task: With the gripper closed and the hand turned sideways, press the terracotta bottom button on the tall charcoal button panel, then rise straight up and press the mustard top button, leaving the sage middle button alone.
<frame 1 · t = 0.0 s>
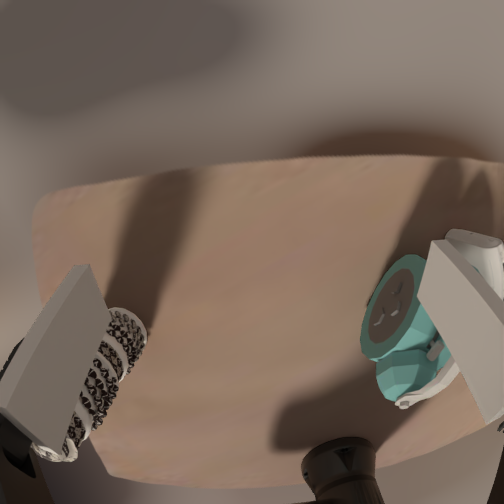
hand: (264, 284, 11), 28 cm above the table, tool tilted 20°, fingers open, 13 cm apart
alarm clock: (390, 296, 40), on the table
leaning tower model: (122, 331, 42), on the table
photo printer: (454, 258, 39), on the table
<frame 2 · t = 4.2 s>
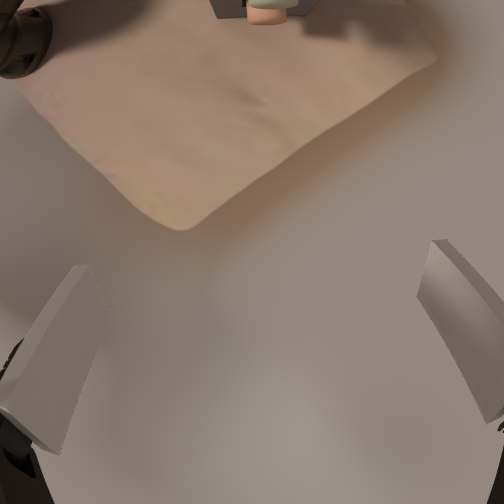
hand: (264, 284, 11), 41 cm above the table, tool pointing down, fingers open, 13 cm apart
terracotta button: (266, 8, 29), point 9 cm above the table, slide at 0.0 cm
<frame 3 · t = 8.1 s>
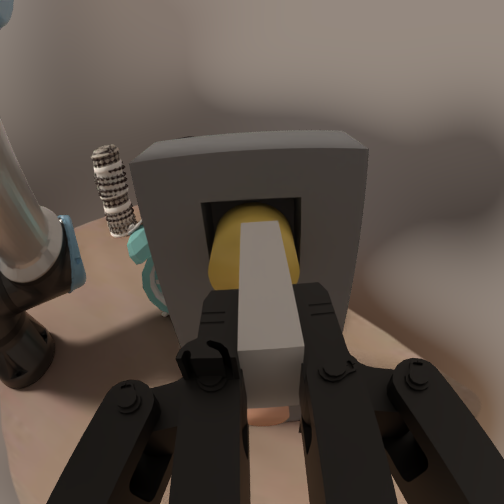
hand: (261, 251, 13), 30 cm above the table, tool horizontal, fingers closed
mustard button: (253, 254, 18), point 27 cm above the table, slide at 0.0 cm
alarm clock: (193, 303, 55), on the table
leaning tower model: (124, 230, 81), on the table
button panel: (264, 400, 37), on the table
terracotta button: (263, 400, 28), point 9 cm above the table, slide at 0.0 cm
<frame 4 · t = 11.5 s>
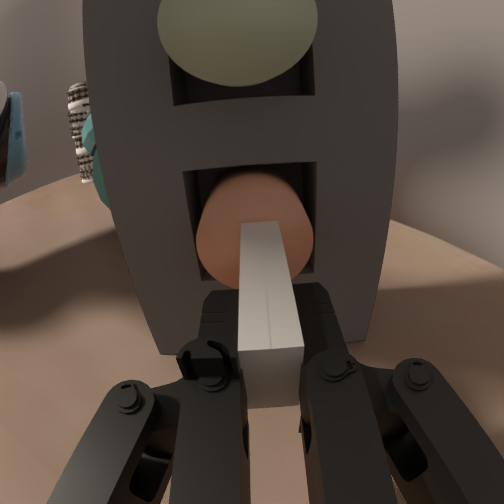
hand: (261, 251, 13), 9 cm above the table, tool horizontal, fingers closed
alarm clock: (161, 217, 40), on the table
leaning tower model: (97, 177, 67), on the table
sage button: (238, 26, 9), point 18 cm above the table, slide at 0.0 cm
button panel: (260, 315, 22), on the table
terracotta button: (253, 224, 14), point 9 cm above the table, slide at 1.5 cm, touching gripper
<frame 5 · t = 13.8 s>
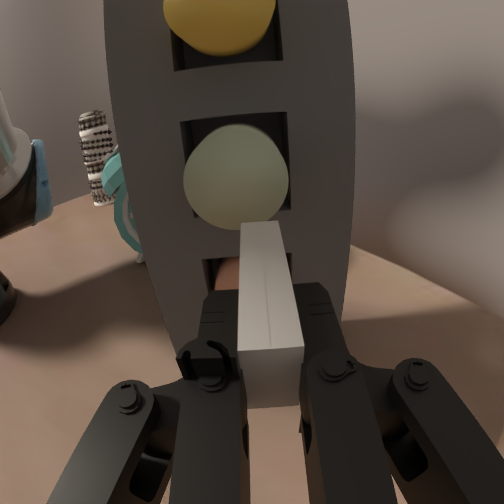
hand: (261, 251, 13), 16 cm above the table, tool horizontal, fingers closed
mustard button: (221, 10, 11), point 27 cm above the table, slide at 0.0 cm
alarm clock: (173, 250, 47), on the table
leaning tower model: (108, 200, 74), on the table
sage button: (236, 171, 16), point 18 cm above the table, slide at 0.0 cm
button panel: (256, 341, 29), on the table
terracotta button: (249, 281, 22), point 9 cm above the table, slide at 2.6 cm
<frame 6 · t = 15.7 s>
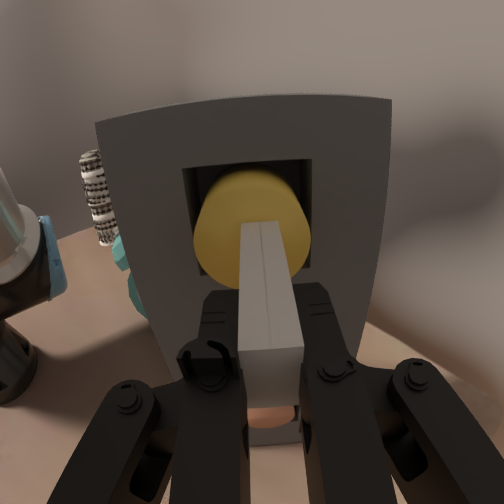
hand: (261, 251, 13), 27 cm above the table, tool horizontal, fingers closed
mustard button: (251, 224, 14), point 27 cm above the table, slide at 1.0 cm, touching gripper
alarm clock: (185, 314, 49), on the table
leaning tower model: (114, 239, 77), on the table
button panel: (267, 419, 31), on the table
terracotta button: (265, 398, 25), point 9 cm above the table, slide at 2.6 cm
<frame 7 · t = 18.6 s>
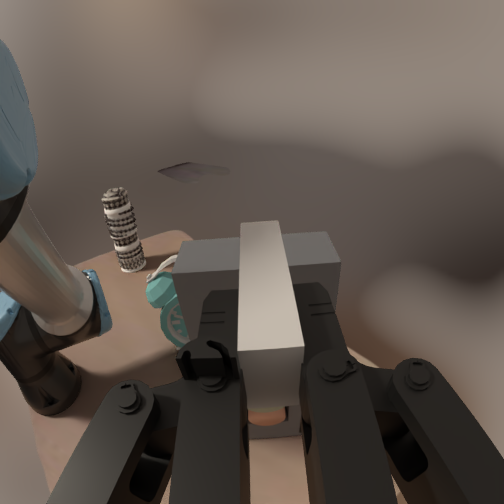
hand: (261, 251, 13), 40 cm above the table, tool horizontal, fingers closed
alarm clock: (203, 338, 62), on the table
leaning tower model: (133, 265, 89), on the table
sage button: (264, 387, 31), point 18 cm above the table, slide at 0.0 cm
button panel: (267, 420, 44), on the table
terracotta button: (266, 406, 37), point 9 cm above the table, slide at 2.6 cm
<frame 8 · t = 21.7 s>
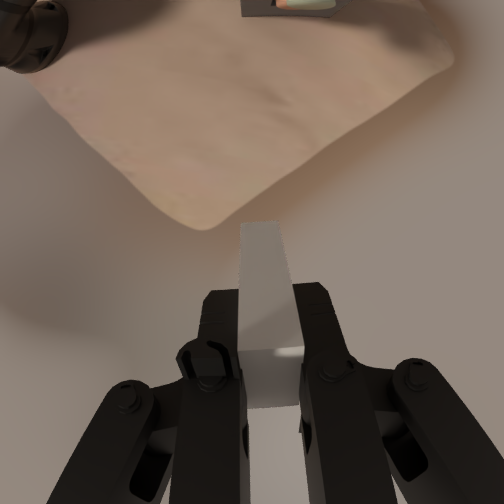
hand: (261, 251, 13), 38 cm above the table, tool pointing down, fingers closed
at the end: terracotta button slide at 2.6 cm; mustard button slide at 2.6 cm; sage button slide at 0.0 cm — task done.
